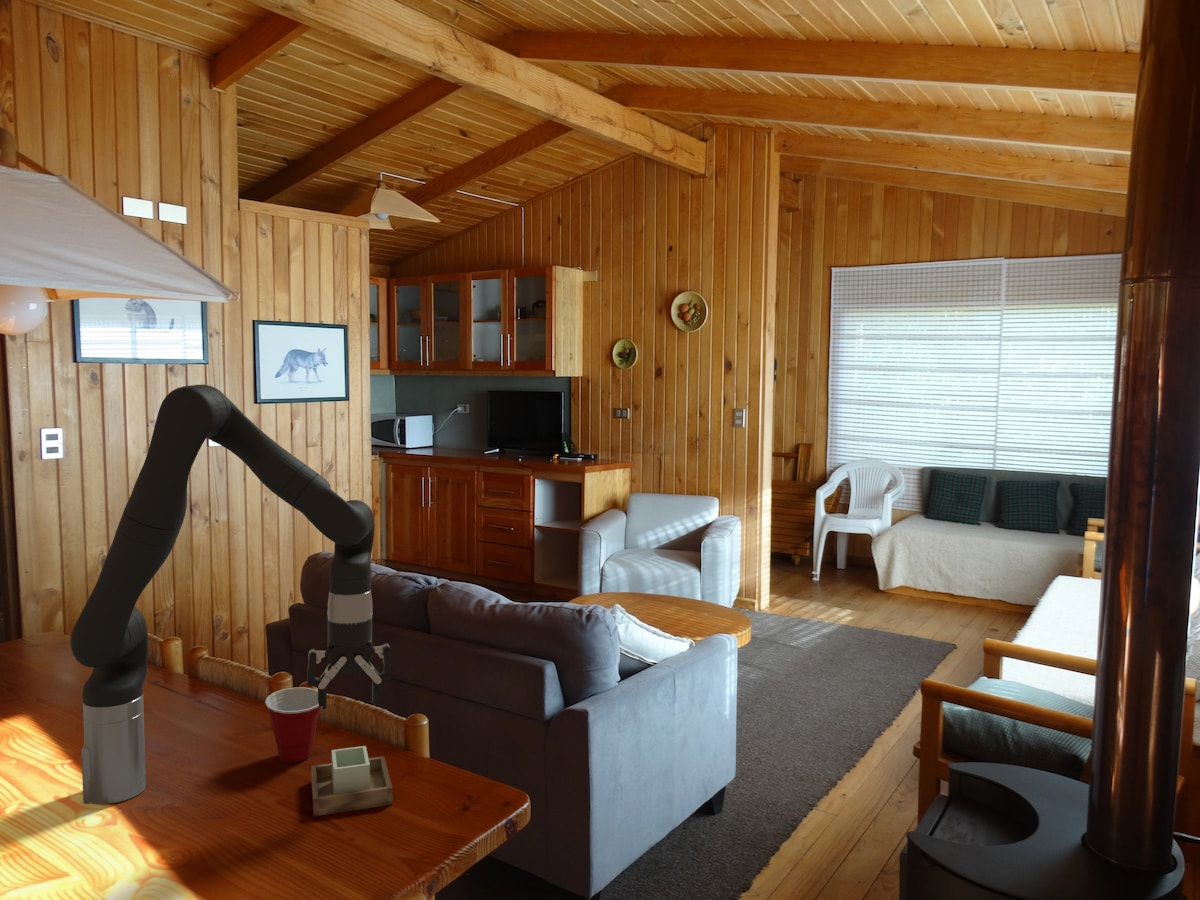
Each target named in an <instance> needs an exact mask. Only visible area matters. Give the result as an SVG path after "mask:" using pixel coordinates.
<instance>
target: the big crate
mask: <svg viewBox="0 0 1200 900" xmlns="http://www.w3.org/2000/svg"><path fill="white" fill-rule="evenodd" d="M368 759H369V763H370V789H367V790H360V791H353V792H346V793H339V794H333V788H332V762H331V763H323V764H314V765H310V769H311V770H310V772H311V773H310V775H311V777H310V778H311V780H310V781H311V782H310V783H311V794H312V797H311V798H312V810H313V811H312V812H313V817H320V816H325V815H332V814H339V813H346V812H352V811H359V810H366V809H371V808H373V809H374V808H380V807H384V806H390V805H391V806H392V805H393V785H392V782H391V781H392V780H391V778H390V774H389V773H390V772H389V770H388V766H387V765H388V764H387V762H386V759H385V755H384V756H375V757H368ZM379 806H380V807H379Z"/></svg>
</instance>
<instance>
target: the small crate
mask: <svg viewBox="0 0 1200 900" xmlns="http://www.w3.org/2000/svg"><path fill="white" fill-rule="evenodd" d="M368 758H369V754H368V751H367V746H366V745H362V746H355V747H345V748H337V749H332V750H331V763H332V788H333V794H339V793H346V792H353V791H360V790H367V789H370V763H369V759H368Z"/></svg>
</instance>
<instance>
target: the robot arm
mask: <svg viewBox="0 0 1200 900" xmlns="http://www.w3.org/2000/svg"><path fill="white" fill-rule="evenodd" d="M151 435H152V436H151V440H150V444H149V447H148V451H147V452H146V456H145V459H144V462H143V465H142V467H141V469H140V471H139V473H138V475H137V478H136V480H135V483H134V485H133V489H132V491H131V493H130V495H129V498H128V501H127V502H126V505H125V507H124V509H123V512H122V515H121V518H120V520H119V522H118V525H117V528H116V530H115V534H114V535H113V540H112V542H111V544H110V547H109V549H108V553H106V557H105V561H104V562H103V565H102V567H101V571H100V574H99V575H98V577H97V581H96V583H95V585H94V588H93V590H92V592H91V593H90V596H89V597H88V599H87V601H86V603H85V605H84V607H83V609H82V611H81V612H80V614H79V616H78V618H77V620H76V622H75V623H74V626H73V628H72V630H71V635H70V649H71V652H72V655H73V656H74V659H75V660H76V661H77V662H78V663H79V664H80V665H82V666H84V667H87V668H93V670H92V672H91V674H90V675H89V677H88V679H87V680H86V681H85V683H84V685H83V686H82V691H81V692H82V693H81V695H82V712H83V713H82V714H83V716H82V717H83V741H84V745H83V746H82V749H81V774H82V776H81V778H82V798H83V799H82V801H83V802H82V803H83V804H87V803H93V804H99V805H106V804H107V805H108V804H115V803H120V802H124V801H127V800H130V799H132V798H135V797H136V796H139V795H140V794H141V793H142V792H144V791H145V789H146V787H147V774H146V752H145V751H146V748H145V747H146V744H145V742H146V741H145V715H144V713H145V711H144V708H145V707H144V683H145V680H146V678H147V673H148V663H149V661H148V660H149V659H148V658H149V657H148V655H149V651H148V650H149V636H148V635H149V633H148V625H147V622H146V619H145V617H144V615H143V613H142V612H141V611H140V610H139V609H138V608H137V607H135V606H136V605H137V602H138V600H139V598H140V596H141V594H142V593H143V591H144V590H145V589H146V587H148V584H149V583H150V582H151V581H152V579H153V578H154V577H155V575H156V574H157V573H158V571H159V570H160V568H161V567H162V566H163V564H164V563H165V562H166V560H167V559H168V558H169V555H170V554H171V552H172V550H173V548H174V546H175V544H176V541H177V539H178V536H179V533H180V531H181V528H182V527H183V523H184V520H185V516H186V513H187V512H186V511H187V506H188V484H189V483H188V482H189V476H190V473H191V470H192V468H193V465H194V463H195V461H196V458H197V456H198V454H199V452H200V450H201V448H202V446H203V444H204V443H205V441H206V439H208V440H210V441H211V442H214V443H216V444H218V445H220V446H222V447H223V448H225V449H226V450H228V451H229V452H230V453H233V454H234V455H235V456H236V457H238V458H239V459H240V460H241V461H242V462H243V463H244V464H245V465H246V466H247V467H248V468H249V470H250V471H251V472H252V473H253V474H254V475H255V476H256V478H257V479H258V480H259V481H260V482H261V483H262V484H263V485H264V487H266V488H267V489H268V490H269V491H270V492H272V493H273V494H274V495H275V496H277V497H278V498H280V499H281V500H282V501H284V502H285V503H286V504H288V505H290V506H291V507H292V508H294V509H295V510H296V511H299V512H300V513H302V514H303V515H304V517H305V518H306V520H308V521H309V522H310V523H311V524H312V525H313V526H314V527H315V528H316V529H317V530H318V531H319V532H320V533H321V534H322V535H323V536H324V537H325V538H327V539H329V540H330V541H332V542H333V543H334V550H333V551H334V552H333V557H332V559H331V561H330V564H329V573H328V574H329V575H328V578H329V580H328V581H329V582H328V584H329V586H328V591H329V592H328V599H327V611H326V615H327V646H326V648H325V650H321V649H320V650H316V649H315V648H310V649H309V650H308V659H307V673H306V683H307V686H308V687H309V688H311V687H315V688H316V689H317V690H318V704H319V706H320V707H321V709H322V710H327V709H328V708H327V706H328V705H327V704H328V703H327V700H328V699H327V691H328V689H327V686H328V684H329V683H330V682H331V680H333V679H334V678H335V677H336V675H337V674H338V673H339V674H340V675H346V674H349V673H352V674H353V673H354V674H358V673H359V674H360V672H362V671H364V673H365V674H366V675H367V676H368V677H370V679H371V703H372V705H377V704H378V701H381V699H382V683H383V682H384V681H386V680H388V681H390V680H391V679H392V678H393V673H392V652H391V651H392V650H391V646H390V645H389V643H387V642H385V643H383V644H381V645H375V646H374V645H373V595H372V567H371V566H372V565H371V562H372V561H371V560H372V554H373V545H374V540H375V539H374V537H375V516H374V515H375V514H374V513H373V510H372V509H371V507H370V506H369V505H368V504H367V503H366V502H365V501H362V500H359V499H350V500H347V501H346V500H345V499H343V497H341V496H340V495H339V494H338V493H336V492H335V491H334V490H332V488H331V484H330V482H329V481H328V480H327V479H326V478H325V477H323V476H322V475H320V474H319V473H318V472H317V471H315V470H314V469H312V468H311V467H310V466H308V465H307V464H306V463H304V462H303V461H301V460H300V459H298V458H297V457H296V456H294V455H293V454H292V453H290V452H289V451H287V450H286V449H285V448H283V447H282V446H281V445H280V444H278V443H277V442H276V441H274V439H272V438H271V437H270V436H268V435H267V434H266V433H265V432H264V431H263V430H262V429H260V427H258V426H257V424H255V423H254V421H253V422H252V421H251V419H249V418H248V417H247V416H246V415H245V413H244V412H242V410H241V409H239V408H238V406H236V404H235V403H234V402H232V401H231V400H230V399H229V397H228V396H226V394H224V393H223V392H222V391H221V390H219V388H217V387H215V386H212V385H207V384H192V385H185V386H184V385H183V386H180V387H177V388H175V389H173V390H172V391H170V392H169V393H168V394H167V395H165V397H164V399H163V400H162V401H161V404H160V407H159V409H158V412H157V415H156V419H155V424H154V427H153V431H152V434H151ZM375 654H377V655H378V657H379V659H382V666H383V668H382V671H380V672H379V671H378V670H377V669H376V668H375V666H374V665H373V664H372V663H371V660H372V658H373V657H374V656H375ZM324 658H325V660H326V661H327V662H328V663H329V664H328V665H327V666H326V668H325V670H324V672H323V673H322V674H321V675H320V677H317V676H316V670H317V669H316V668H317V664H320V663H321V661H322V659H324Z"/></svg>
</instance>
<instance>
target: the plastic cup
mask: <svg viewBox="0 0 1200 900" xmlns="http://www.w3.org/2000/svg"><path fill="white" fill-rule="evenodd" d="M264 703H265V706H266V707H267V710H268V712H269V717H270V720H271V724H272V730H273V736H274V741H275V744H276V748H277V753H278V757H279V759H280V761H281V762H284V763H286V764H287V763H289V764H294V763H295V764H296V763H300V762H304V761H306V760H308V759H309V758H311V756H312V751H313V745H314V739H315V736H316V731H317V730H316V729H317V723H318V719H319V718H318V717H319V713H320V709H321V706H319V704H318V689H317V688H316V689H315V688H311V687H300V686H299V687H298V686H297V687H288V688H283V689H280V690H277V691H274V692H272V693H271V694H270V695H268V696H267V697H266V699H265V701H264Z"/></svg>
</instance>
